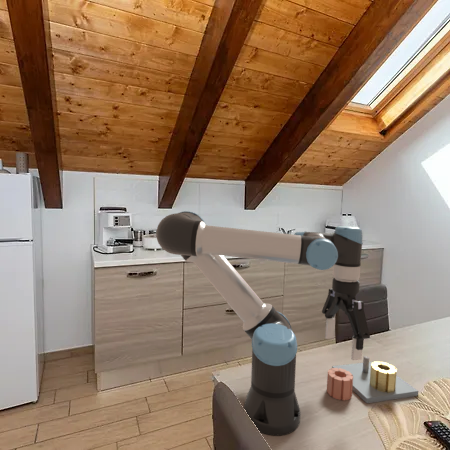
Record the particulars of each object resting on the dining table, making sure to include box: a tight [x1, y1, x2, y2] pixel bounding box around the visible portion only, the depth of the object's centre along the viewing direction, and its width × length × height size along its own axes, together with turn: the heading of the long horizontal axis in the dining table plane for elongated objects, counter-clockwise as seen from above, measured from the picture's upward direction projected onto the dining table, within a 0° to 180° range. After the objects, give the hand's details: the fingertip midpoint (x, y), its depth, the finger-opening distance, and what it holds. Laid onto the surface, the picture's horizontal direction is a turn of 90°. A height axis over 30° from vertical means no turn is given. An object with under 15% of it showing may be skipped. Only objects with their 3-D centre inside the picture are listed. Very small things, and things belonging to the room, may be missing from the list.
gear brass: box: [370, 360, 398, 393], centre depth 99 cm, size 7×7×6 cm
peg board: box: [331, 355, 419, 404], centre depth 103 cm, size 18×18×6 cm
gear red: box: [326, 367, 353, 401], centre depth 97 cm, size 7×7×6 cm
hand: (342, 348), depth 96 cm, fingers open, 13 cm apart
